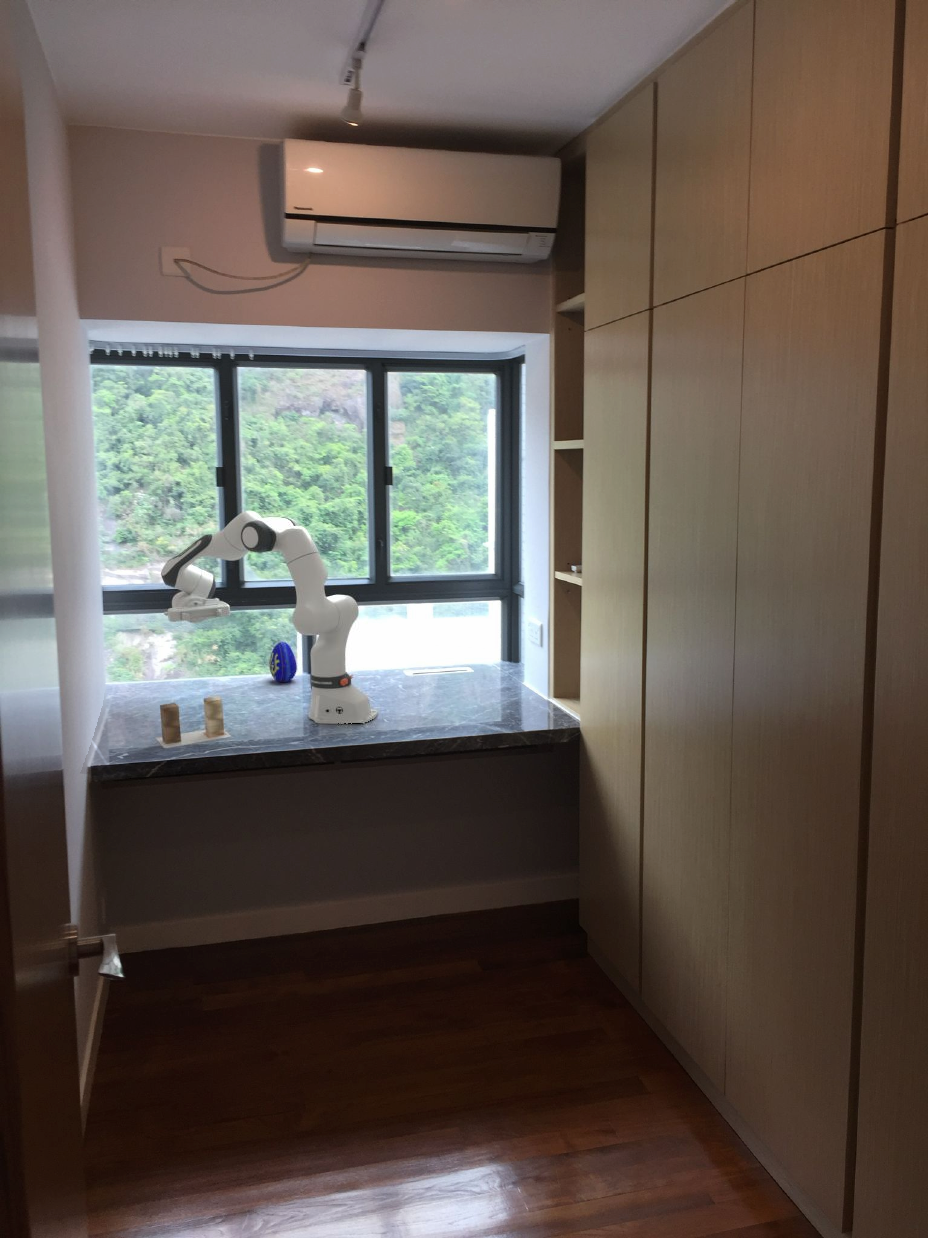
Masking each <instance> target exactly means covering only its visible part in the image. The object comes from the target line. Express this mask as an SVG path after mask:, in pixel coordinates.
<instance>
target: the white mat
mask: <svg viewBox="0 0 928 1238" xmlns="http://www.w3.org/2000/svg"><path fill="white" fill-rule="evenodd" d="M231 737H232V735H231V734H229V733H228V732H227V731H226V729H224V734H222V735H216V736H209V735H208V734H207V733H206V729H202V730H201V729H200V730H196V731H195V730H194V731H190V732H183V733H181V742H177V743H171V744H165V742H164V741H163V739H162V736H160V737H155V739H156V740H157V741H158V743H160V745H161V746H162V747H163V748H164V749H168V748H175V747H180V746H186V745H191V744H198V743H204V742H208V741H209V742H210V741H215V740H221V739H225V738H231Z"/></svg>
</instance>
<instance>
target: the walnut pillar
mask: <svg viewBox="0 0 928 1238" xmlns="http://www.w3.org/2000/svg"><path fill="white" fill-rule="evenodd" d="M159 711H160V713H159V714H160V725H161V735H162V736H161V737H162V739H163V741H164V742H165V744H171V743H177V742H181V734H182V733H181V732H182V731H181V723H180V722H181V720H180V708H179V705H178V704H176V702H171V703H164V704H159Z"/></svg>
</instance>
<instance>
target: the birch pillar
mask: <svg viewBox="0 0 928 1238" xmlns="http://www.w3.org/2000/svg"><path fill="white" fill-rule="evenodd" d="M203 711H204V713H203V714H204V726H205V730H206V733H207V734H208V735H209V736H216V735H222V734H224V730H225V725H224V709H223V699H222V698H221V697H220V696H219V695H217V696H216V695H215V696H209V697H208V696H207V697H204V698H203Z"/></svg>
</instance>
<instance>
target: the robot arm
mask: <svg viewBox="0 0 928 1238" xmlns="http://www.w3.org/2000/svg"><path fill="white" fill-rule="evenodd" d="M249 552H252V553H257V554H259V553H260V554H261V553H262V554H263V553H269V552H270V553H272V552H273V553H275V552H280V553H281V555H282V556H283V558H284V561H285V563H286V567H287V569H288V572H289V574H290V576H291V579H292V582H293V585H294V587H295V592H296V603H295V604H296V606H295V608H294V610H293V613H292V620H291V621H292V625H293V627H294V629H295V630H296V631H297V632H298V633H299V635H300V634H301V635H303V636H317V640H316V641H315V643H314V644H313V645H312V647H311V649H310V667H311V669H310V671H311V672H310V675H309V677H310V679H309V683H310V689H311V695H310V696H311V697H310V706H309V712H308V715H307V716H308V719H310V720H313V721H314V723H315V724H326V725H327V724H330V725H331V724H334V725H337V724H338V723H339V724H338V725H341V724H342V725H349V724H348V723H351V724H350V725H353V724H352V723H363V724H366V723H365V722H367V723H368V721H369V722H371V721H372V719H373V720H374V719H375V718H376V717H377V716H378V710H377V709H376V708H375V709H374V708H371V702H370V698H369V695H367V694H366V693H364V692H363V691H361V690H360V689H359V688H357V686H355V685H353V683H352V679H354V674H348V672H347V671H346V668H347V667H346V651H347V650H346V648H347V643H348V639H349V635H350V632H351V629H352V627H353V624H355V621H357V618H358V617H359V610H360V609H359V606H358V603H357V601H356V600H355V599H354V597H352V596H350V595H347V594H346V595H345V594H334V595H330V596H326V593H325V583H326V582H327V580H328V577H329V575H328V570H327V568H326V566H325V564H324V562H323V561H324V560H323V559H322V556H321V554H320V552H319V549H318V547H317V545H316V544H315V542H314V540H313V538H312V536H311V535H310V533H309V531H308V530H307V529H306V528H305V527H303V526H300V524H299V522H298V521H296V519H293V518H290V517H285V516H282V517H265V518H262V517H261V515H259V513H256V512H255V511H251V510H245V511H243V512H241V513H239V514H238V515H236V516H235V517H234V518H233V519H232V520H230V522H229V523H227V525H226V526H225V527H224V528H223V529H221V530H220V531H218V532H215V533H214V532H213V533H207V534H204V535H203V536H201V537H200V538H198V539H197V540H196V541H194V542H193V543H192V544H190V545H189V546H187V548H185V549H183V550H182V551H181V552H180V553H179V554H178V555H176V556H174V557H171V558H169V560H167V561H166V562H165V564H164V565H163V567H162V569H161V573H160V575H161V579H162V581H163V583H164V584H165V586H167V587H169V588H173V589H177V590H179V591H180V592H177V593H176V594H174V596H173V597H172V600H171V607H170V608H168V609H167V611H163V614H164V616H167V618H168V621H169V622H170V623H176V622H186V621H187V622H188V623H192V624H198V623H201V622H203V621H205V620H211V619H215V618H221V617H223V618H224V617H229V616H230V615H231V607H230V606H231V605H229V604H228V603H227V602H225V601H223V600H220V598H217V597H213V596H214V594H215V591H216V589H217V584H216V579H215V576H214V574H213V573H210V572H208V571H206V570H204V569H201V568H200V567H197V566H195V565H193V564H194V563H195V562H196V561H198V560H199V559H201V558H206V557H207V558H215V559H219V560H225V561H238V560H241V559H243V558H244V557H245V556H246V555H247V554H249ZM370 720H371V721H370ZM344 723H346V724H344Z"/></svg>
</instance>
